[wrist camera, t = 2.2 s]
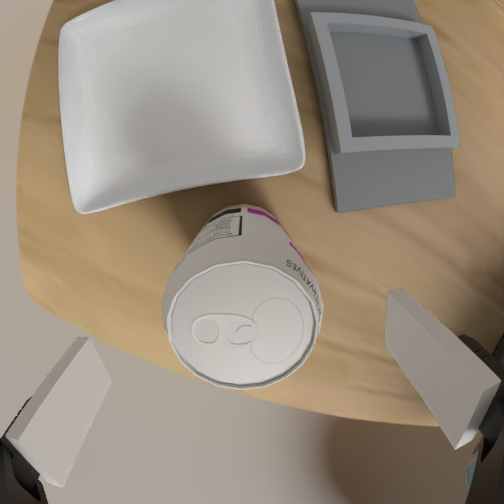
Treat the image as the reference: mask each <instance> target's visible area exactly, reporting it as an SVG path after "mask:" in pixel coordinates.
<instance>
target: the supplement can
mask: <svg viewBox="0 0 504 504" xmlns="http://www.w3.org/2000/svg"><path fill="white" fill-rule="evenodd" d="M323 309H324V305H323V301H322V296H321V292H320V288H319V284H318V281H317V279H316V278H315V276H314V275H313V273H312V271H311V270H310V268H309V267H308V265H307V263H306V262H305V260H304V259H303V257H302V256H301V254H300V252H299V251H298V249H297V248H296V246H295V245H294V243H293V241H292V240H291V238H290V237H289V235H288V234H287V232H286V231H285V229H284V228H283V226H282V225H281V224H280V222H279V221H278V220H277V218H276V217H275V216H274V215H272V214H271V213H269V212H268V211H266V210H265V209H263V208H261V207H258V206H253V205H248V204H239V205H232V206H228V207H226V208H224V209H222V210H220V211H218V212H216V213H215V214H213V215H212V217H211V218H210V219H209V220H208V221H207V222H206V223H205V225H204V226H203V227H202V229H201V230H200V232H199V233H198V235H197V236H196V238H195V239H194V241H193V242H192V244H191V245H190V246H189V248H188V249H187V251H186V252H185V254H184V256H183V257H182V259H181V260H180V262H179V263H178V265H177V266H176V268H175V269H174V271H173V272H172V274H171V275H170V277H169V280H168V283H167V286H166V289H165V293H164V296H163V299H162V311H163V321H164V327H165V329H166V331H167V333H168V337H169V342H170V344H171V346H172V348H173V350H174V352H175V354H176V356H177V357H178V359H179V361H180V362H181V363H182V364H183V365H184V366H185V367H186V368H188V369H189V370H190V371H191V372H192V373H193V374H194V375H195V376H196V377H199V378H201V379H203V380H205V381H207V382H209V383H211V384H213V385H216V386H218V387H224V388H230V389H237V390H247V389H256V388H264V387H267V386H269V385H272V384H274V383H277V382H279V381H282V380H284V379H286V378H287V377H289V376H290V375H291V374H292V373H294V372H295V371H296V370H297V369H298V368H300V367H301V366H302V365H303V364H304V363H305V361H306V359H307V358H308V356H309V354H310V353H311V351H312V349H313V348H314V346H315V343H316V337H317V335H318V333H319V332H320V328H321V322H322V316H323Z"/></svg>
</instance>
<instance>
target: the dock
mask: <svg viewBox="0 0 504 504" xmlns="http://www.w3.org/2000/svg"><path fill="white" fill-rule="evenodd" d="M294 2H295V5H296V9H297V12H298V16H299V19H300V23H301V27H302V30H303V34H304V38H305V42H306V46H307V50H308V54H309V58H310V63H311V67H312V72H313V76H314V81H315V86H316V90H317V95H318V100H319V106H320V111H321V116H322V122H323V127H324V133H325V139H326V146H327V152H328V159H329V166H330V173H331V180H332V188H333V196H334V205H335V211H336V212H338V213H341V212H348V211H355V210H362V209H369V208H376V207H383V206H391V205H398V204H406V203H413V202H421V201H429V200H437V199H446V198H454V197H455V185H454V170H453V159H452V150H451V148H461V146H460V138H459V131H458V124H457V118H456V113H455V107H454V102H453V97H452V93H451V88H450V84H449V80H448V76H447V72H446V68H445V64H444V61H443V57H442V54H441V51H440V47H439V44H438V41H437V38H436V35H435V32H434V29H433V27H432V26H430V25H426V24H422V22H421V19H420V17H419V14H418V12H417V9H416V6H415V4H414V2H413V0H294Z"/></svg>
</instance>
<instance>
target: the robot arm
mask: <svg viewBox="0 0 504 504" xmlns="http://www.w3.org/2000/svg"><path fill="white" fill-rule="evenodd" d="M384 345H385V347H386V348H387V350H388V351H389V352H390V354H391V355H392V356H393V358H394V359H395V361H396V362H397V364H398V365H399V366H400V368H401V369H402V371H403V372H404V373H405V375H406V376H407V378H408V379H409V381H410V382H411V384H412V385H413V386H414V388H415V389H416V391H417V392H418V394H419V395H420V397H421V398H422V400H423V401H424V403H425V404H426V406H427V407H428V409H429V410H430V412H431V413H432V415H433V416H434V418H435V419H436V421H437V422H438V424H439V425H440V427H441V428H442V430H443V432H444V433H445V435H446V436H447V438H448V440H449V441H450V443H451V444H452V446H453V447H454V449H457V448H459V447H460V446H462V445H464V444H466V443H468V442H469V441H471V440H473V438H474V436H475V435H476V433H477V431H478V429H479V430H480V431H481V433H482V434H483V436H482V437H481V439H480V441H479V442H478V444H477V446H476V447H475V449H474V451H473V454H475V453H476V452H477V450H478V449H479V451H478V456H477V457H476V458H475V459H474V460H473V461H472V462H471V463H470V465H469V467H468V469H467V476H466V479H467V486H468V490H469V493H468V496H467V499H466V502H465V504H504V336H503V338H502V339H501V341H500V343H499V345H498V346H497V348H496V350H495V352H494V354H493V356H492V355H490V353H489V352H488V351H487V350H485V349H483V347H482V346H481V345H480V344H479V343H478V342H477V341H476V340H474V339H472V338H470V337H468V336H466V335H460V336H458V337H457V336H456V335H454V334H453V333H452V332H451V331H450V330H449V329H448V328H447V327H446V326H445V325H444V324H442V323H441V322H440V321H439V320H438V319H437V318H436V317H435V316H434V315H433V314H431V313H430V312H429V311H428V310H427V309H426V308H425V307H423V306H422V305H421V304H420V303H419V302H418V301H417V300H415V299H414V298H413V297H412V296H411V295H410V294H409V293H407V292H406V291H405V290H404V289H403V288H401V289H397V290H393V291H388V292H387V306H386V326H385V341H384ZM111 384H112V381H111V380H110V378H109V376H108V374H107V372H106V370H105V368H104V366H103V364H102V361H101V359H100V357H99V355H98V353H97V351H96V349H95V346H94V344H93V342H92V340H91V337H78V338H77V339H76V340H75V341H74V343H73V344H72V345H71V346H70V348H69V349H68V350H67V351H66V353H65V354H64V355H63V356H62V358H61V359H60V360H59V361H58V363H57V364H56V365H55V367H54V368H53V369H52V371H51V372H50V373H49V374H48V376H47V377H46V378H45V380H44V381H43V382H42V384H41V385H40V386H39V388H38V389H37V390H36V392H35V393H34V394H33V396H32V397H30V398H29V399H28V400H27V401H26V403H25V404H24V405H23V407H22V410H20V411H19V412H18V414H17V415H18V416H16V417H15V418H14V420H13V421H12V423H11V424H10V426H9V427H8V428H7V430H6V431H5V433H4V435H3V436H2V437H1V439H0V504H48V501H47V498H46V495H45V491H44V488H43V485H42V483H41V482H40V481H39V480H38V478H39V476H40V475H41V476H42V477H43V478H44V479H45V480H46V481H47V482H49V483H50V484H53V485H56V486H59V487H62V488H64V485H65V483H66V481H67V478H68V476H69V473H70V471H71V469H72V466H73V464H74V462H75V460H76V457H77V455H78V453H79V451H80V449H81V446H82V444H83V442H84V440H85V438H86V436H87V433H88V431H89V429H90V427H91V425H92V423H93V421H94V418H95V416H96V414H97V412H98V410H99V408H100V406H101V404H102V402H103V400H104V398H105V396H106V394H107V392H108V390H109V388H110V386H111Z"/></svg>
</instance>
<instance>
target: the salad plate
mask: <svg viewBox="0 0 504 504" xmlns="http://www.w3.org/2000/svg"><path fill="white" fill-rule="evenodd" d="M58 82H59V101H60V114H61V126H62V136H63V145H64V154H65V162H66V169H67V176H68V182H69V188H70V193H71V198H72V201H73V205H74V207H75V210H76V211H77V212H78V213H80V214H89V213H95V212H99V211H102V210H106V209H109V208H113V207H116V206H120V205H123V204H127V203H131V202H134V201H138V200H142V199H146V198H150V197H154V196H158V195H162V194H166V193H171V192H175V191H179V190H184V189H190V188H195V187H200V186H206V185H212V184H219V183H225V182H232V181H239V180H247V179H255V178H264V177H272V176H278V175H284V174H288V173H292V172H295V171H297V170H299V169H301V168H302V167H303V166H304V164H305V161H306V151H305V143H304V137H303V131H302V126H301V121H300V116H299V111H298V107H297V102H296V98H295V94H294V89H293V84H292V80H291V76H290V72H289V67H288V63H287V58H286V54H285V49H284V45H283V40H282V35H281V30H280V26H279V21H278V16H277V12H276V7H275V2H274V0H114V1H111V2H109V3H106V4H104V5H101V6H99V7H96V8H94V9H92V10H89V11H87V12H85V13H83V14H81V15H79V16H77V17H75V18H73V19H71V20H70V21H68V22H66V23H65V24H64V25H63V26H62V28H61V30H60V36H59V47H58Z"/></svg>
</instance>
